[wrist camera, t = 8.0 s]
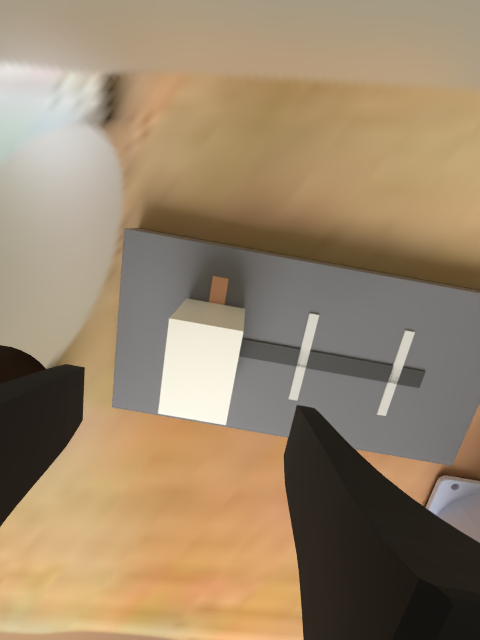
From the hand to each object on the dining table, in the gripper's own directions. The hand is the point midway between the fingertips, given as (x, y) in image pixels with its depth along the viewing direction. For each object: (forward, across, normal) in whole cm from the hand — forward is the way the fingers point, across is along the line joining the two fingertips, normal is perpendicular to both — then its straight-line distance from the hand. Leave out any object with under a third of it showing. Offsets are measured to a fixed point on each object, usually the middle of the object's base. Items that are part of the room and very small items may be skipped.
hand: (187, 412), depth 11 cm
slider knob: (+6, 0, 0) cm, 6 cm away
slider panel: (+9, -5, 0) cm, 10 cm away
